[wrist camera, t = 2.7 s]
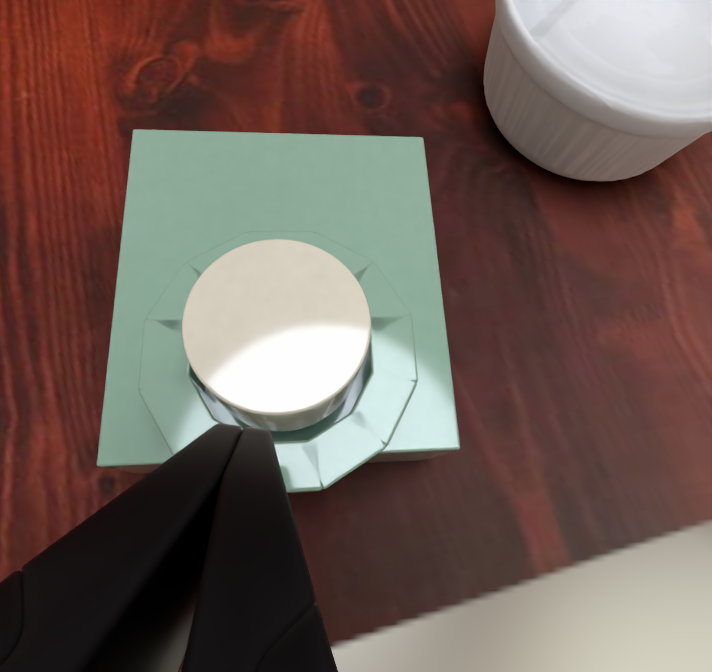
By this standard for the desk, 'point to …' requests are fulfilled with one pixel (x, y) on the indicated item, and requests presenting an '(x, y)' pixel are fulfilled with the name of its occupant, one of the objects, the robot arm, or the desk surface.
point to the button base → (291, 222)
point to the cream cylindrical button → (277, 333)
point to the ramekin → (600, 82)
